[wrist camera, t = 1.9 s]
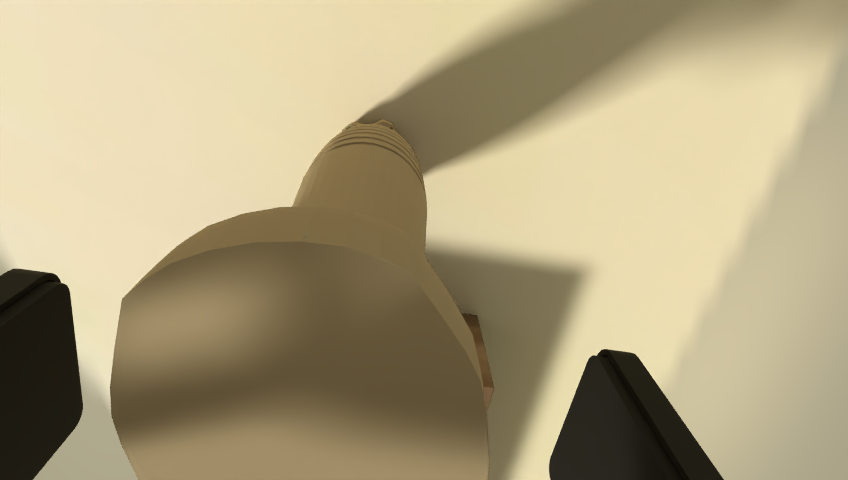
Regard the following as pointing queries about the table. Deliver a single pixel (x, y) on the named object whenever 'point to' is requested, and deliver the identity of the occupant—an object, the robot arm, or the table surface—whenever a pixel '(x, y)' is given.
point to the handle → (305, 339)
